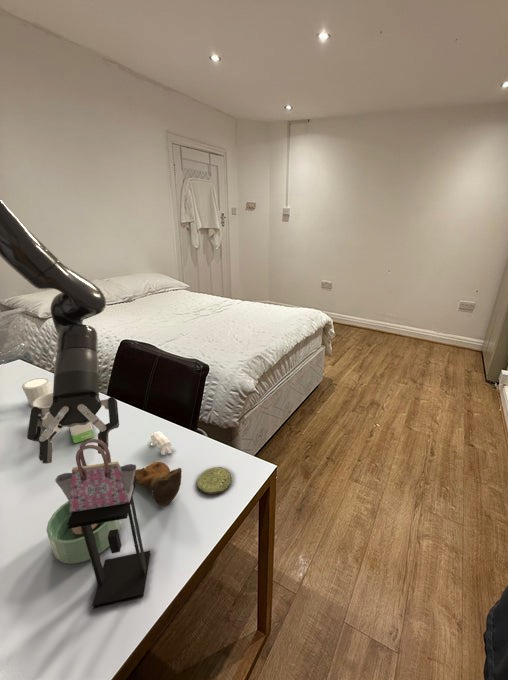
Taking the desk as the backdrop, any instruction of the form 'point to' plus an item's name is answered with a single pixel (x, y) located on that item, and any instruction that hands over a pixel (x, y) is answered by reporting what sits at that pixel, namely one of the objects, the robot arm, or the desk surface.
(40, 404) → the cup
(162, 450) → the figurine
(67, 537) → the bowl
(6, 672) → the desk surface
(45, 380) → the white cup
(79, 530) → the brown wooden pestle
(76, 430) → the ink box
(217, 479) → the medallion
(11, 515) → the desk surface
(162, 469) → the sculpture
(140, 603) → the desk surface
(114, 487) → the handbag
